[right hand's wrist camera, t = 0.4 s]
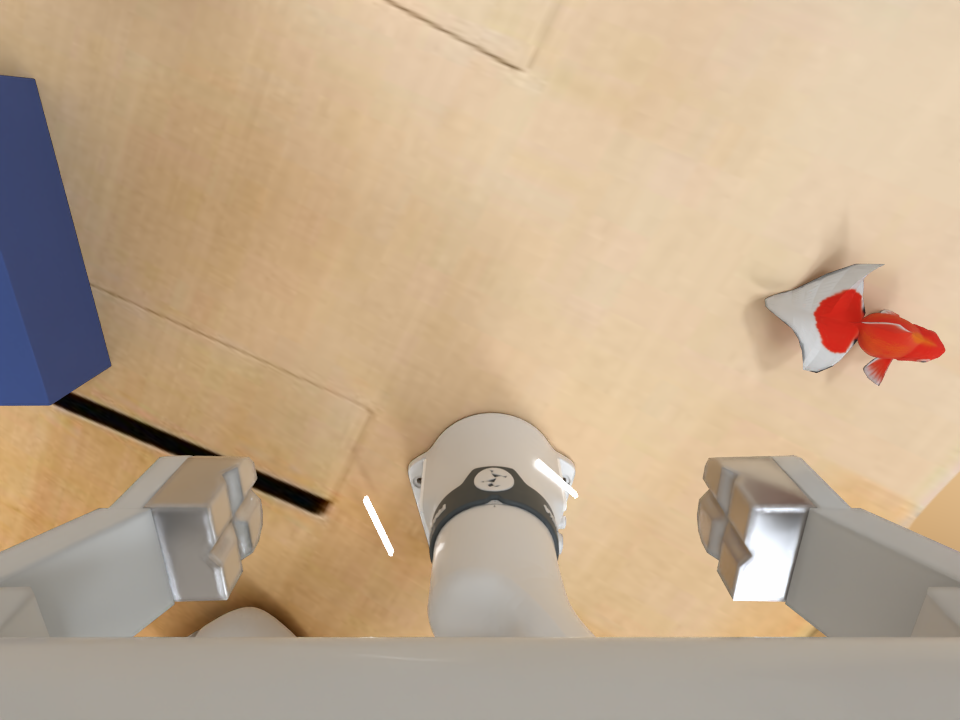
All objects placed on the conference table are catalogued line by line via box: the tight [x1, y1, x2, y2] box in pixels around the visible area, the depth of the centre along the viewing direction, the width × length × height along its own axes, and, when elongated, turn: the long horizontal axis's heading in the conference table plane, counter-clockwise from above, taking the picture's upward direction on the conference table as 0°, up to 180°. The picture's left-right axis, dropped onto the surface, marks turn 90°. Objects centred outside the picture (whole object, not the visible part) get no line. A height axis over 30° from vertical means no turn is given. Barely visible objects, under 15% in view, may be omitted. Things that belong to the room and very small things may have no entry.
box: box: [0, 75, 111, 406], centre depth 51 cm, size 27×6×9 cm, turn 0°
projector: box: [188, 607, 296, 637], centre depth 69 cm, size 22×23×15 cm
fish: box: [765, 264, 945, 386], centre depth 54 cm, size 11×16×10 cm
